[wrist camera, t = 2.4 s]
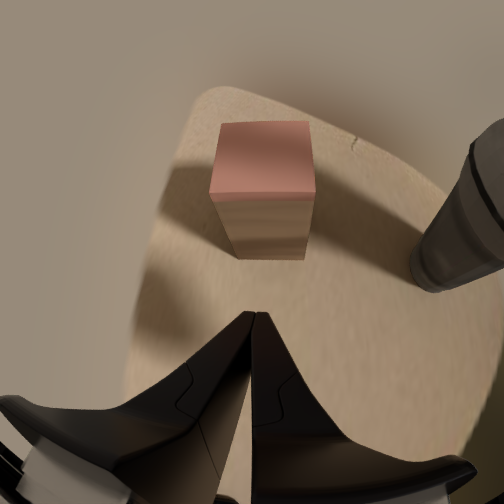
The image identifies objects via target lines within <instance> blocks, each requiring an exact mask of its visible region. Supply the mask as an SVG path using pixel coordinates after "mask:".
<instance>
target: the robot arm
mask: <svg viewBox="0 0 504 504" xmlns="http://www.w3.org/2000/svg"><path fill="white" fill-rule="evenodd" d="M250 377H251V403H252V481H251V504H450V499H449V494H451V493H453V492H454V491H456V490H457V489H458V488H460V487H462V486H463V485H465V484H466V483H467V482H469V481H470V480H471V479H473V478H474V477H475V476H476V475H477V473H478V470H477V469H476V468H475V466H474V465H472V463H470V462H469V461H467V460H465V459H463V458H461V457H459V456H456V455H446V456H442V457H439V458H436V459H432V460H428V461H423V462H411V461H404V460H400V459H397V458H394V457H392V456H389V455H386V454H383V453H381V452H378V451H375V450H373V449H370V448H368V447H365V446H363V445H360V444H358V443H356V442H354V441H352V440H351V439H349V438H348V437H347V436H346V435H345V434H344V433H343V432H342V431H341V430H340V429H339V428H338V426H337V425H336V424H335V423H334V421H333V420H332V419H331V417H330V416H329V415H328V414H327V412H326V411H325V410H324V409H323V407H322V406H321V405H320V403H319V402H318V401H317V399H316V398H315V397H314V395H313V394H312V392H311V391H310V389H309V388H308V386H307V384H306V383H305V381H304V379H303V377H302V375H301V374H300V372H299V370H298V368H297V366H296V364H295V362H294V361H293V359H292V357H291V355H290V353H289V351H288V349H287V347H286V345H285V344H284V342H283V340H282V338H281V336H280V334H279V332H278V330H277V328H276V326H275V324H274V323H273V321H272V319H271V317H270V315H269V313H268V312H256V313H255V312H253V311H243V312H242V313H241V314H240V315H239V316H238V317H236V318H235V319H234V320H233V321H232V322H231V323H230V324H228V325H227V326H226V327H225V328H224V329H223V330H222V331H221V332H219V333H218V334H217V335H216V336H215V337H214V338H212V339H211V340H210V341H209V342H208V343H207V344H205V345H204V346H203V347H202V348H201V349H200V350H198V351H197V352H196V353H195V354H194V355H193V356H191V357H190V358H189V359H188V360H187V361H186V363H185V362H184V363H183V364H182V365H181V366H179V367H178V368H177V369H176V370H174V371H173V372H172V373H170V374H169V375H168V376H167V377H165V378H164V379H162V380H161V381H159V382H158V383H156V384H155V385H153V386H152V387H150V388H149V389H147V390H145V391H144V392H142V393H140V394H139V395H137V396H136V397H134V398H132V399H131V400H129V401H127V402H126V403H124V404H122V405H120V406H118V407H115V408H112V409H106V410H81V409H80V410H79V409H60V408H49V407H43V406H39V405H36V404H33V403H31V402H29V401H28V400H26V399H25V398H23V397H21V396H19V395H5V396H0V411H1V412H2V413H3V415H4V416H5V417H6V418H7V420H8V421H9V422H10V423H11V424H12V425H13V426H14V427H15V428H16V429H17V430H18V431H19V432H20V434H21V435H22V436H23V437H24V438H25V439H26V440H28V442H29V443H30V444H31V445H33V447H32V448H31V450H30V452H29V454H28V455H27V457H26V458H25V460H24V461H22V460H21V459H20V458H19V457H17V456H16V455H15V454H14V453H13V452H12V451H10V450H9V449H8V448H7V447H6V446H5V445H4V444H3V443H1V442H0V504H239V503H238V502H236V501H234V500H227V499H220V498H215V496H216V493H217V489H218V486H219V483H220V480H221V477H222V473H223V470H224V467H225V464H226V460H227V457H228V454H229V451H230V447H231V444H232V440H233V437H234V434H235V430H236V427H237V423H238V420H239V416H240V413H241V409H242V406H243V402H244V399H245V395H246V392H247V388H248V384H249V381H250ZM485 504H504V492H503V493H502V494H500V495H499V496H497V497H495V498H494V499H492V500H490V501H489V502H487V503H485Z"/></svg>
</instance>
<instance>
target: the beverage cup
mask: <svg viewBox="0 0 504 504" xmlns="http://www.w3.org/2000/svg"><path fill="white" fill-rule="evenodd" d="M410 268H411V273H412V275H413V278H414V280H415V281H416V282H417V284H418V285H419V286H420V287H421V288H423V289H424V290H425V291H428V292H431V293H439V292H441V291H445V290H450V289H453V288H456V287H458V286H461V285H464V284H466V283H469V282H471V281H474V280H477V279H479V278H482V277H484V276H486V275H489V274H491V273H494V272H496V271H498V270H501V269H503V268H504V118H503V119H501V120H498V121H496V122H495V123H493V124H492V125H491V126H489V127H488V128H487V129H486V130H485V131H484V132H483V133H482V134H481V135H480V136H479V137H478V138H477V139H476V140H474V142H472V143H471V144H470V149H469V154H468V155H467V157H466V160H465V163H464V165H463V168H462V171H461V174H460V178H459V180H458V181H457V183H456V185H455V186H454V188H453V190H452V192H451V193H450V195H449V196H448V198H447V199H446V201H445V203H444V204H443V206H442V207H441V209H440V210H439V212H438V213H437V215H436V216H435V218H434V219H433V221H432V222H431V224H430V225H429V227H428V228H427V229H426V231H425V232H424V234H423V235H422V237H421V238H420V239H419V242H418V244H417V245H416V247H415V248H414V249H413V251H412V253H411V257H410Z"/></svg>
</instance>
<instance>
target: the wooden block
mask: <svg viewBox="0 0 504 504" xmlns="http://www.w3.org/2000/svg"><path fill="white" fill-rule="evenodd" d="M209 194H210V197H211V199H212V201H213V204H214V206H215V208H216V210H217V213H218V215H219V217H220V220H221V222H222V224H223V226H224V229H225V231H226V233H227V235H228V238H229V240H230V242H231V245H232V247H233V249H234V251H235V254H236V256H237V258H238V259H247V260H304V258H305V253H306V247H307V242H308V236H309V231H310V225H311V219H312V213H313V207H314V201H315V194H316V187H315V175H314V165H313V154H312V145H311V136H310V128H309V121H257V122H237V123H223V124H221V129H220V134H219V139H218V144H217V150H216V155H215V161H214V166H213V172H212V178H211V184H210V190H209Z"/></svg>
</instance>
